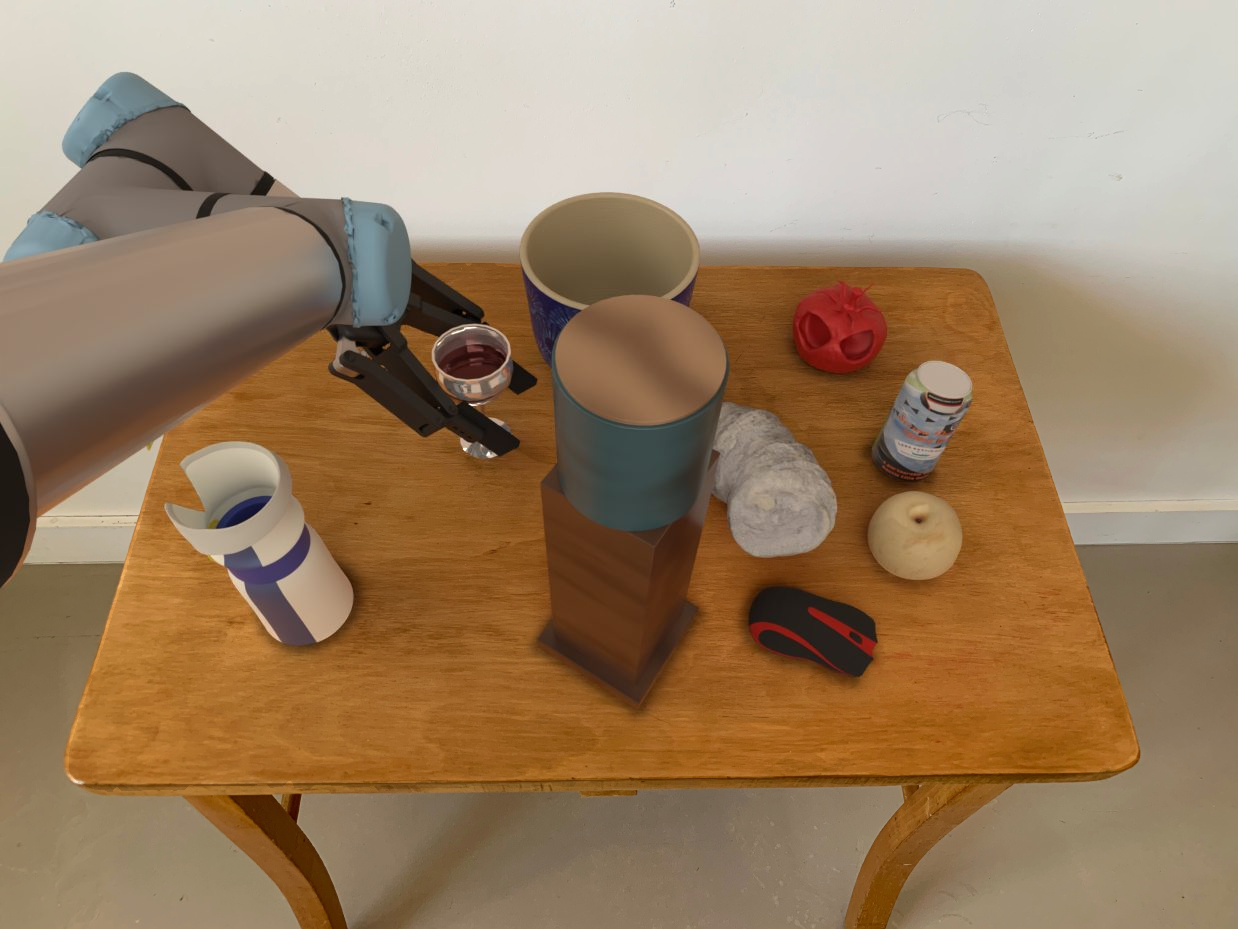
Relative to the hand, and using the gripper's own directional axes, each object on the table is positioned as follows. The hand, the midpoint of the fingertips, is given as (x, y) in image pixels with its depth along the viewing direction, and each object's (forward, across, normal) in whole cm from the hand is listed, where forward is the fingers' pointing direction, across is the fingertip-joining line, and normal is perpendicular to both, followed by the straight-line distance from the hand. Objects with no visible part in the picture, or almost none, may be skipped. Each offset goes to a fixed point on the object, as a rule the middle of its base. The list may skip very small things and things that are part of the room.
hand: (518, 416), depth 73 cm
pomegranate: (+26, -20, +17) cm, 37 cm away
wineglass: (0, 0, -6) cm, 6 cm away
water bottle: (-6, +19, -16) cm, 25 cm away
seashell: (+20, +1, +10) cm, 22 cm away
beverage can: (+31, -6, +22) cm, 38 cm away
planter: (+9, -14, 0) cm, 17 cm away
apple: (+31, +5, +21) cm, 38 cm away
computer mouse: (+25, +14, +15) cm, 32 cm away
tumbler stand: (+13, +16, +4) cm, 21 cm away
